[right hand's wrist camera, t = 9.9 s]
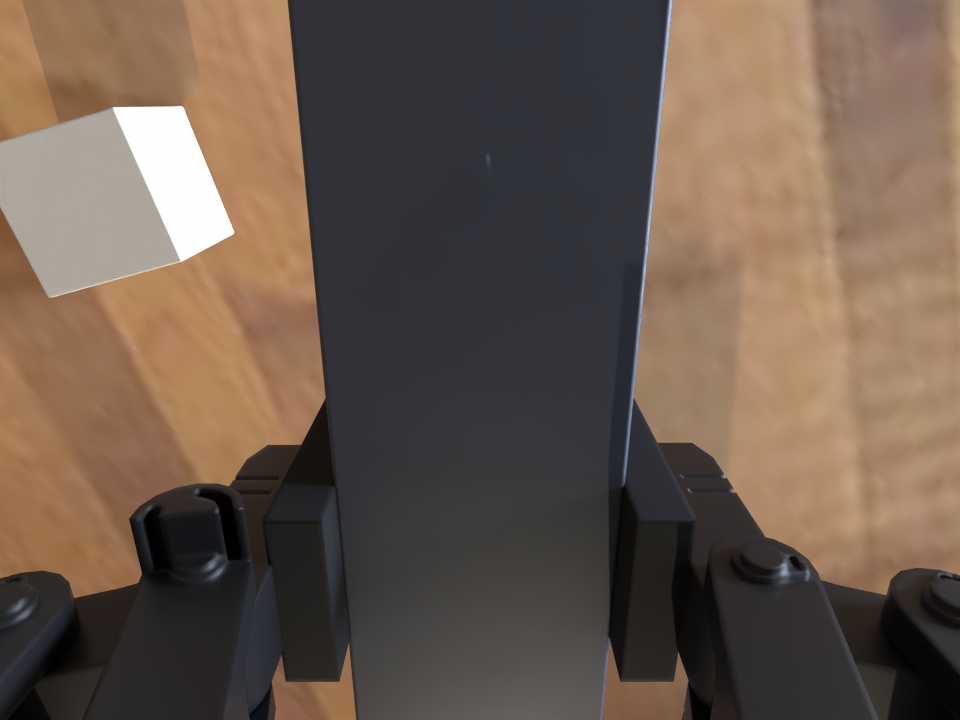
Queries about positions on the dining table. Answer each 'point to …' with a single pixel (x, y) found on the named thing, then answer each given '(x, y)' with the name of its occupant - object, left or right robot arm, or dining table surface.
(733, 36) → the dining table surface
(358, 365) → the bar
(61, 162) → the cream block
